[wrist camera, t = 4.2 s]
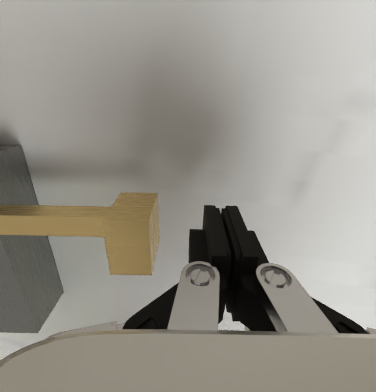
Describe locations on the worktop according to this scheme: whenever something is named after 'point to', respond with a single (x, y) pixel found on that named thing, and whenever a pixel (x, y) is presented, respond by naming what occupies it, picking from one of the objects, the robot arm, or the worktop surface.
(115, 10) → the worktop surface
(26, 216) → the brass key
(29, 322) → the spindle block
